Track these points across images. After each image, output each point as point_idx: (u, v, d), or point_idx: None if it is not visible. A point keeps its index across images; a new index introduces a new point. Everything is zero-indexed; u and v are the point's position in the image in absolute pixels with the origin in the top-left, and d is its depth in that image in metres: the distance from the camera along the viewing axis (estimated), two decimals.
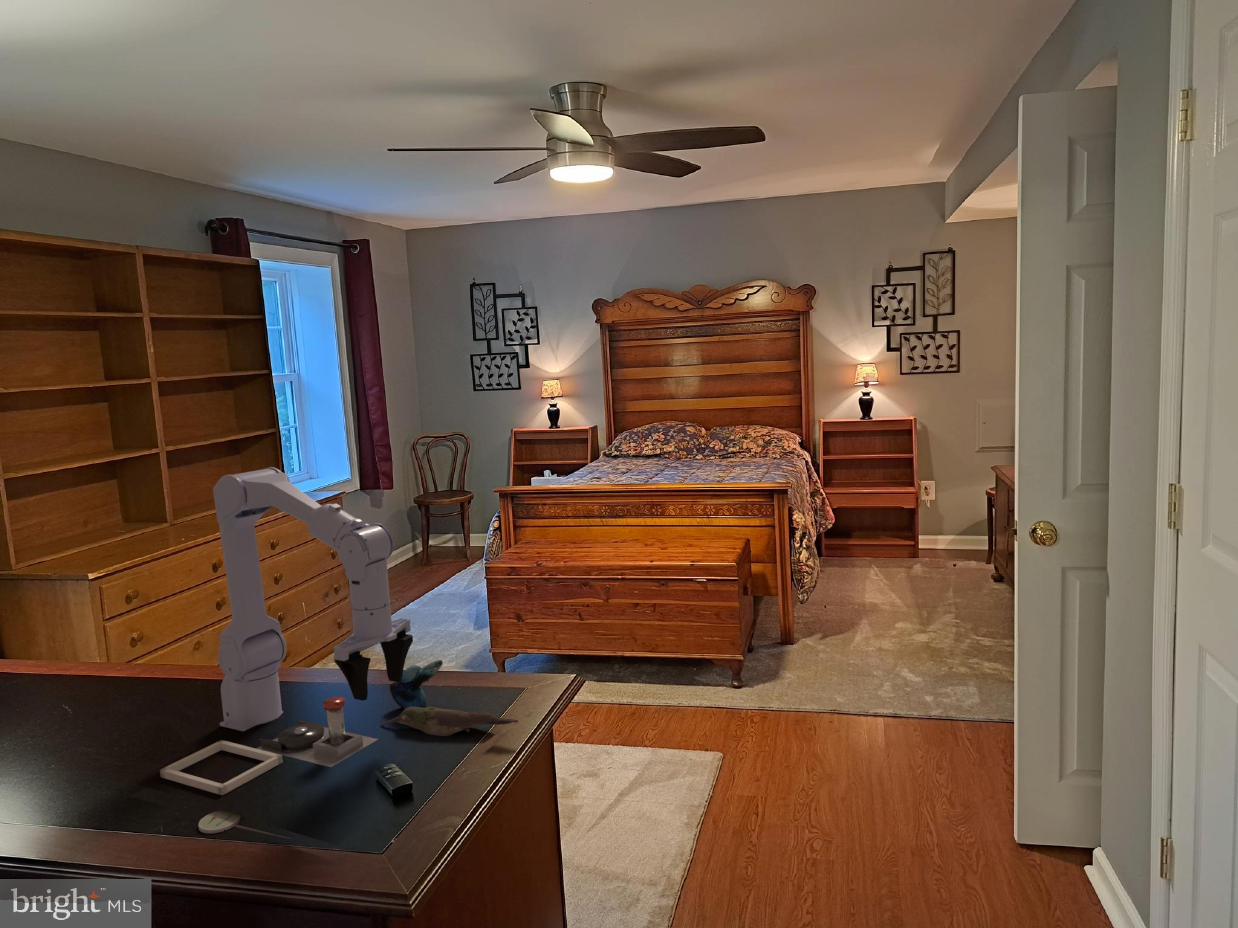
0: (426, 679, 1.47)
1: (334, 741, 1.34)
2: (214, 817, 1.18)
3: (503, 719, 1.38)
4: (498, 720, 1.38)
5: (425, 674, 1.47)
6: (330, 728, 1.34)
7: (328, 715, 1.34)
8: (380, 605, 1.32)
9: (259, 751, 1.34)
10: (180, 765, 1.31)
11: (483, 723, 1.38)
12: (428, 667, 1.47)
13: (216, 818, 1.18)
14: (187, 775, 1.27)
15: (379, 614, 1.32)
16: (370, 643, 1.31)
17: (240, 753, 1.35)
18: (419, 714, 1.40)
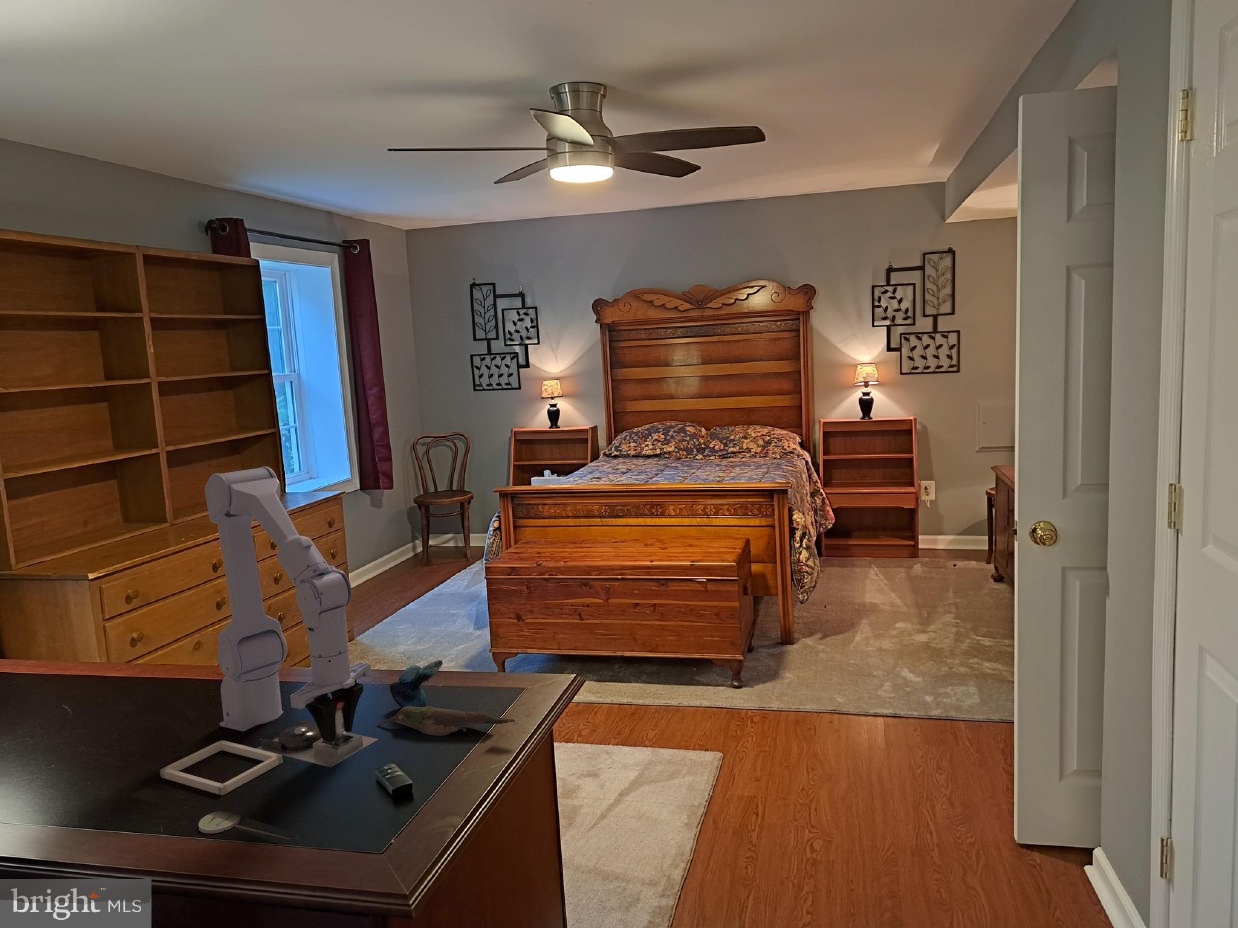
0: (426, 679, 1.47)
1: (334, 741, 1.34)
2: (214, 817, 1.18)
3: (500, 719, 1.38)
4: (495, 720, 1.38)
5: (425, 674, 1.47)
6: None
7: None
8: (335, 653, 1.31)
9: (259, 751, 1.34)
10: (180, 765, 1.31)
11: (480, 723, 1.38)
12: (428, 667, 1.47)
13: (216, 818, 1.18)
14: (187, 775, 1.27)
15: (337, 661, 1.32)
16: (327, 690, 1.31)
17: (240, 753, 1.35)
18: (416, 713, 1.40)
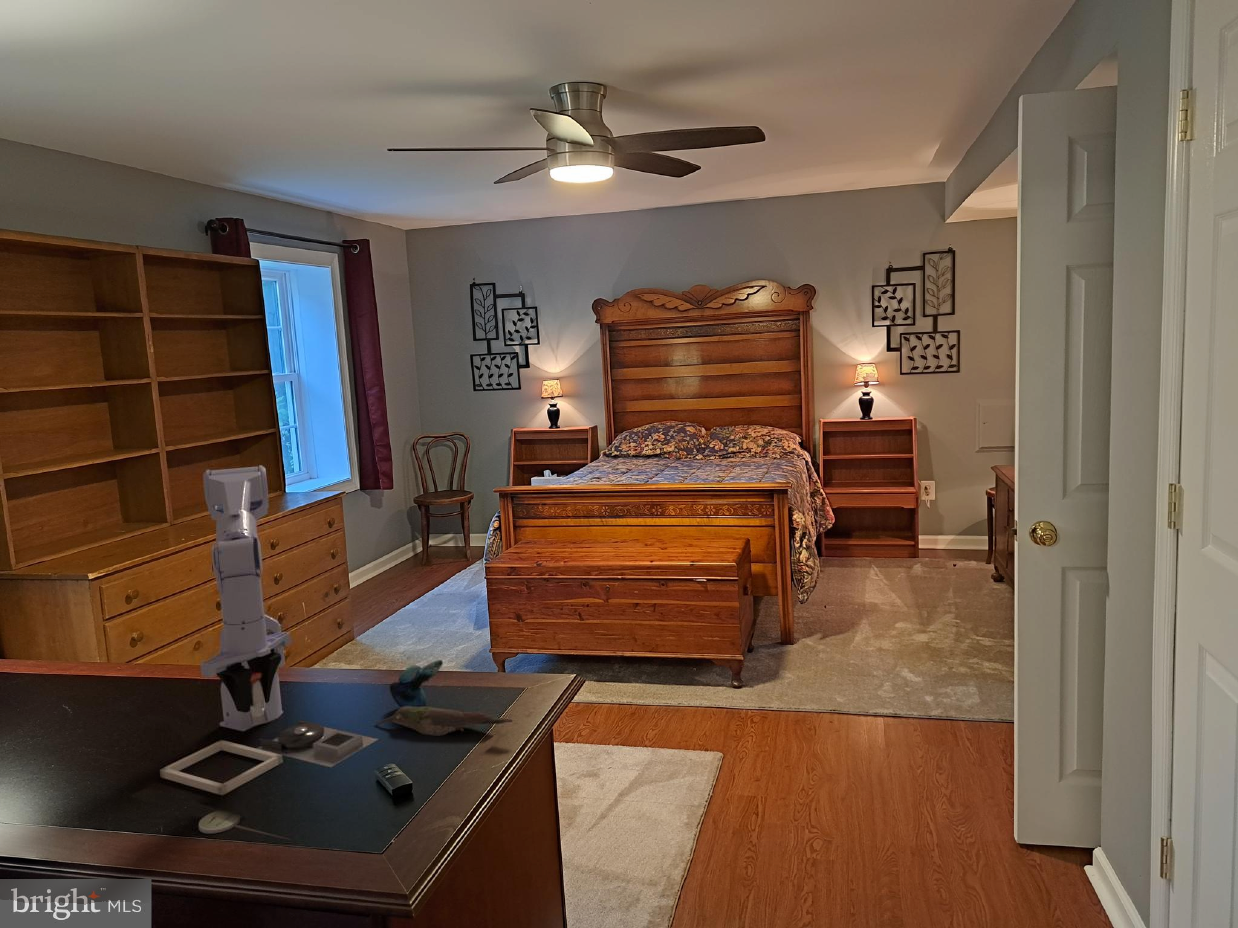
0: (426, 679, 1.47)
1: (255, 714, 1.30)
2: (214, 817, 1.18)
3: (497, 719, 1.38)
4: (492, 720, 1.38)
5: (425, 674, 1.47)
6: None
7: None
8: (237, 622, 1.26)
9: (259, 751, 1.34)
10: (180, 765, 1.31)
11: (477, 723, 1.38)
12: (428, 667, 1.47)
13: (216, 818, 1.18)
14: (187, 775, 1.27)
15: (251, 628, 1.27)
16: (240, 659, 1.26)
17: (240, 753, 1.35)
18: (413, 713, 1.40)
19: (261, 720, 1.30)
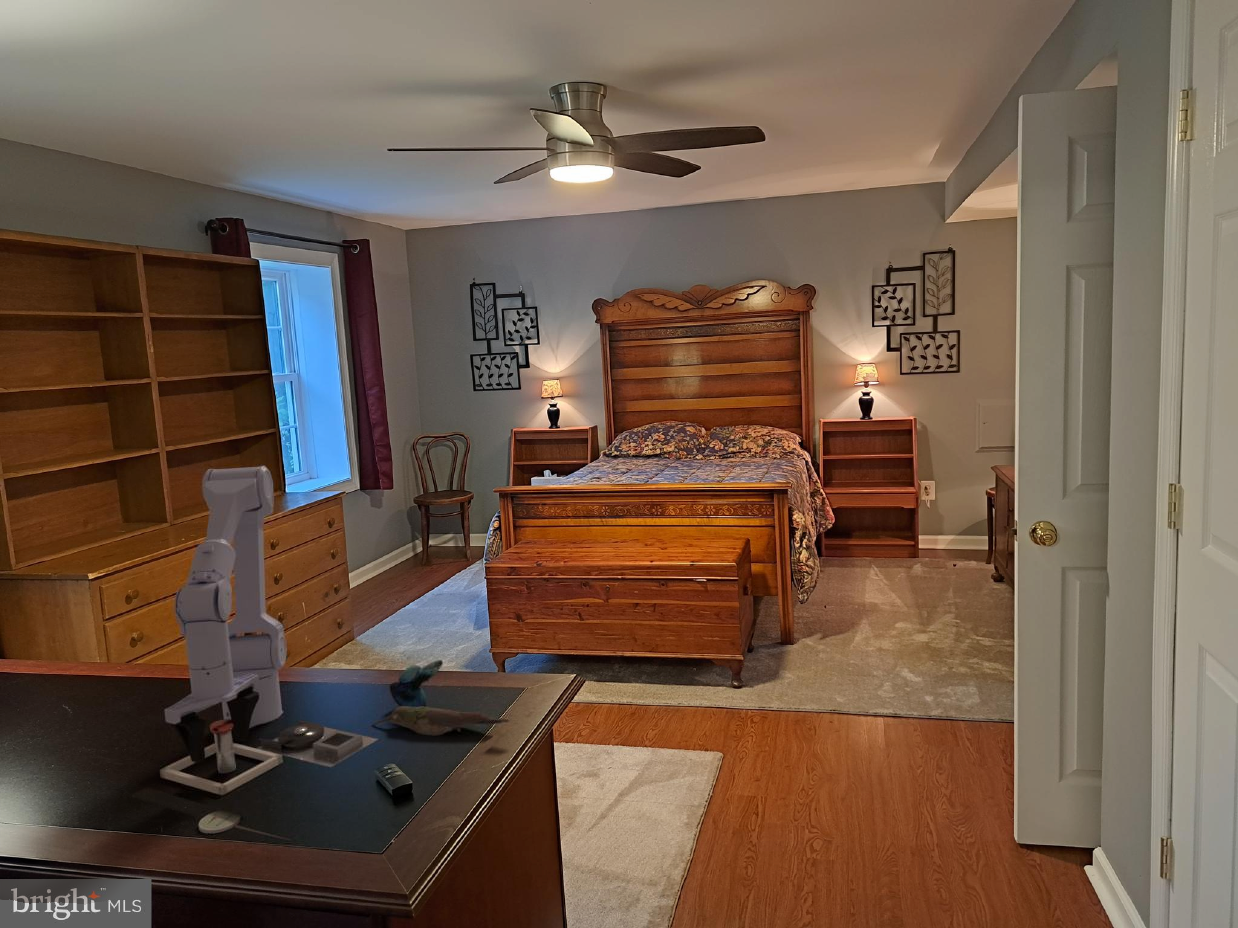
0: (426, 679, 1.47)
1: (223, 766, 1.29)
2: (214, 817, 1.18)
3: (494, 719, 1.38)
4: (489, 720, 1.38)
5: (425, 674, 1.47)
6: (218, 752, 1.29)
7: (216, 739, 1.29)
8: (197, 667, 1.26)
9: (259, 751, 1.34)
10: (180, 765, 1.31)
11: (474, 722, 1.38)
12: (428, 667, 1.47)
13: (216, 818, 1.18)
14: (187, 775, 1.27)
15: (216, 673, 1.26)
16: (206, 704, 1.25)
17: (240, 753, 1.35)
18: (410, 713, 1.40)
19: None
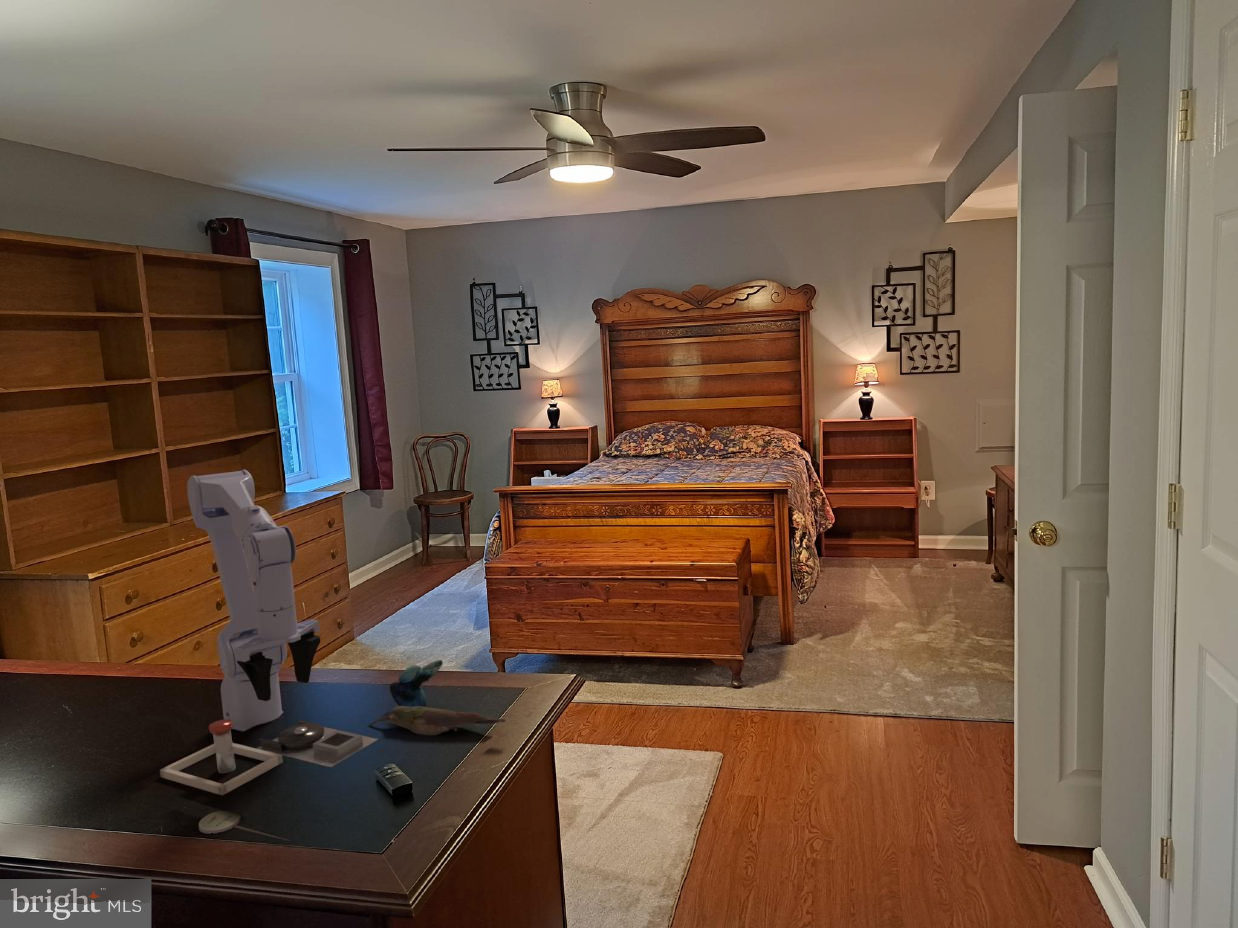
0: (426, 679, 1.47)
1: (222, 766, 1.29)
2: (215, 817, 1.18)
3: (490, 718, 1.38)
4: (485, 719, 1.38)
5: (425, 674, 1.47)
6: (217, 752, 1.29)
7: (215, 739, 1.29)
8: (275, 608, 1.32)
9: (259, 751, 1.34)
10: (180, 765, 1.31)
11: (470, 722, 1.38)
12: (428, 667, 1.47)
13: (216, 818, 1.18)
14: (187, 775, 1.27)
15: (282, 615, 1.33)
16: (272, 644, 1.32)
17: (240, 753, 1.35)
18: (407, 713, 1.40)
19: (228, 772, 1.30)
